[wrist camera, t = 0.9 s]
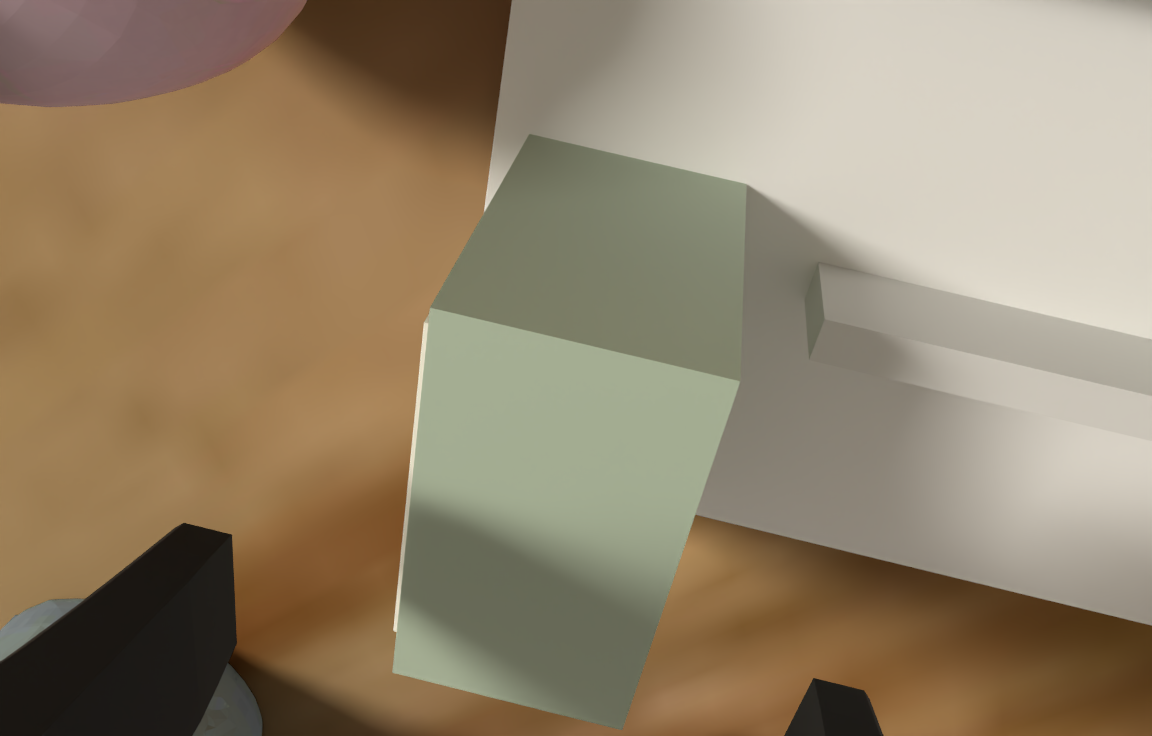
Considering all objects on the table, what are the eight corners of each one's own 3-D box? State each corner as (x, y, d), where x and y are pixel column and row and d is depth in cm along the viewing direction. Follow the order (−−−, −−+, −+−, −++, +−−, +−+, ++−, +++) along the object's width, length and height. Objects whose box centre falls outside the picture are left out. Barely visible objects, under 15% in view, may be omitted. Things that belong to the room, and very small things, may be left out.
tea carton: (656, 486, 20) (622, 730, 15) (474, 442, 20) (383, 670, 15) (746, 183, 16) (739, 381, 11) (520, 131, 16) (417, 304, 12)
